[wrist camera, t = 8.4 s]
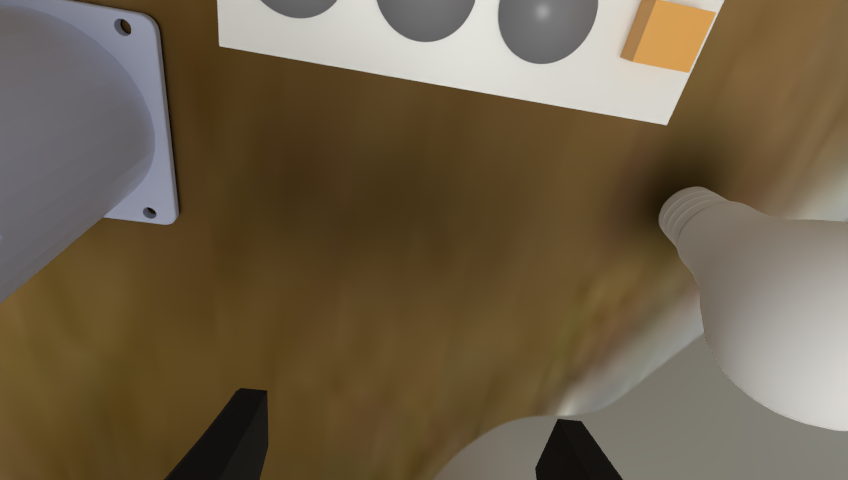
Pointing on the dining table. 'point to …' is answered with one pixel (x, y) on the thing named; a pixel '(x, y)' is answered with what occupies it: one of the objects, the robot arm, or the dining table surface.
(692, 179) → the dining table surface
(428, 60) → the power strip
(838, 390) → the lightbulb
